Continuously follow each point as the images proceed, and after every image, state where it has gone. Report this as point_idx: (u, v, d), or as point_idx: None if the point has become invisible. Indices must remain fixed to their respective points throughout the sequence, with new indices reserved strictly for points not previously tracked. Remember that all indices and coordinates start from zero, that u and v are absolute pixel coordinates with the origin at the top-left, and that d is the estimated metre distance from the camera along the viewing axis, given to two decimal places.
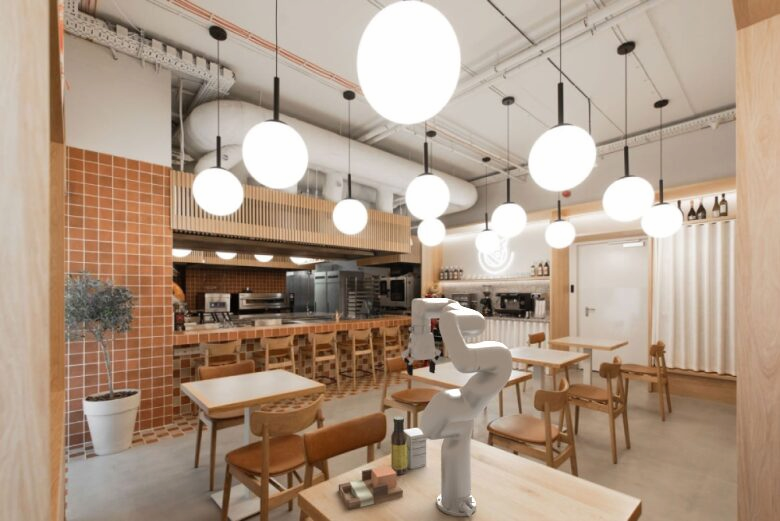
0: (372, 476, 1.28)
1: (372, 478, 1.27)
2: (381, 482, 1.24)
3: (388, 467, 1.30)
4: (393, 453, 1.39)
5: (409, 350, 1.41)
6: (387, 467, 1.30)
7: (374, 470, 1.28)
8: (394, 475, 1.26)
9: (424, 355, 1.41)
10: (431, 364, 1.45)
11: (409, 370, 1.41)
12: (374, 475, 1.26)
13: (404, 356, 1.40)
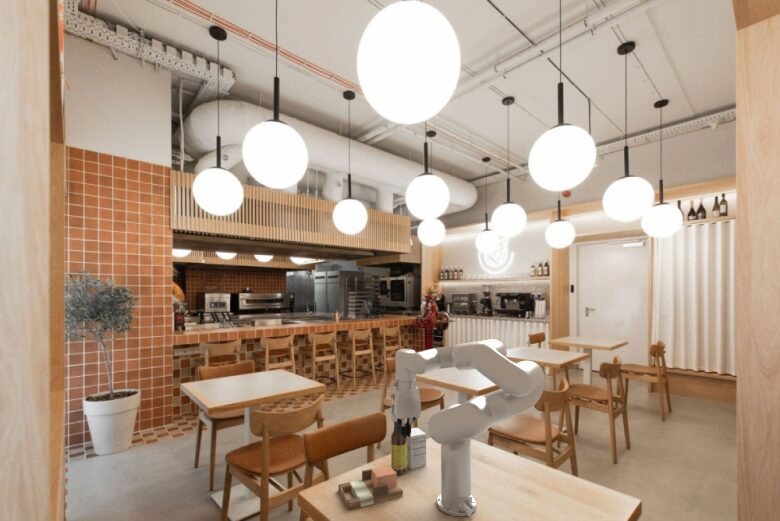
0: (372, 476, 1.28)
1: (372, 478, 1.27)
2: (381, 482, 1.24)
3: (388, 467, 1.30)
4: (393, 453, 1.39)
5: None
6: (387, 467, 1.30)
7: (374, 470, 1.28)
8: (394, 475, 1.26)
9: (409, 413, 1.30)
10: (407, 426, 1.32)
11: (403, 432, 1.30)
12: (374, 475, 1.26)
13: (396, 419, 1.30)
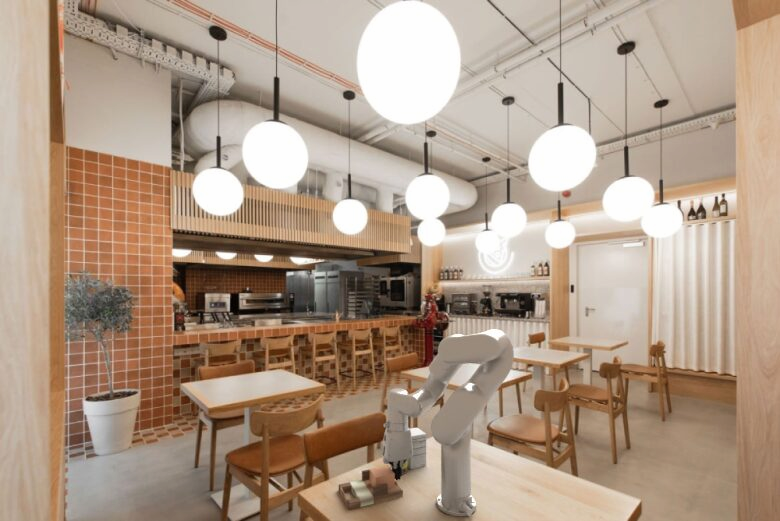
0: (370, 477, 1.28)
1: (370, 478, 1.27)
2: (379, 482, 1.23)
3: (386, 467, 1.30)
4: None
5: None
6: (385, 467, 1.30)
7: (372, 470, 1.28)
8: (392, 476, 1.25)
9: (400, 456, 1.28)
10: None
11: None
12: (372, 475, 1.26)
13: (387, 461, 1.28)
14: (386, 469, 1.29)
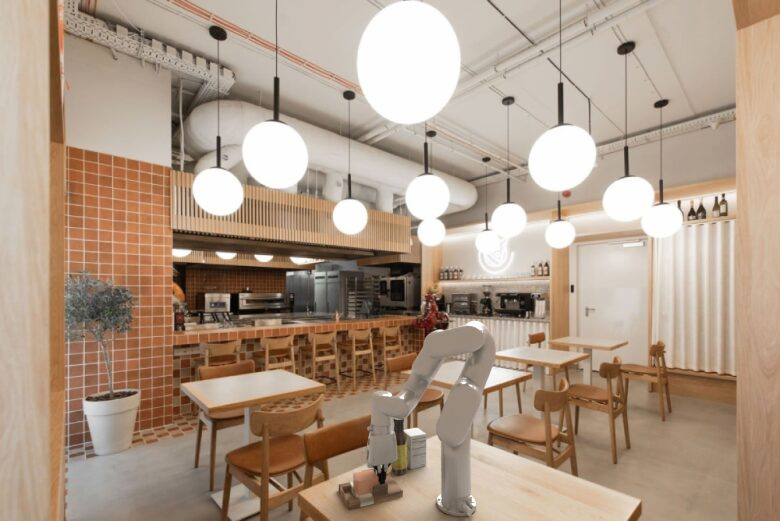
0: (353, 480, 1.25)
1: (354, 482, 1.25)
2: (362, 487, 1.21)
3: (370, 471, 1.27)
4: None
5: None
6: (369, 471, 1.27)
7: (356, 474, 1.25)
8: (376, 479, 1.23)
9: (384, 459, 1.25)
10: None
11: (379, 478, 1.26)
12: (355, 479, 1.23)
13: (371, 465, 1.25)
14: (370, 473, 1.26)
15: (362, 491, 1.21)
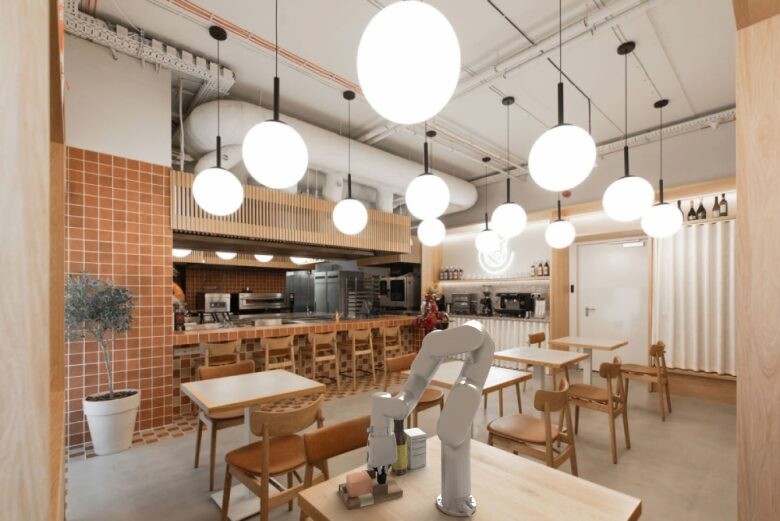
0: (347, 482, 1.24)
1: (347, 484, 1.24)
2: (355, 488, 1.20)
3: (364, 472, 1.26)
4: None
5: None
6: (363, 472, 1.26)
7: (349, 476, 1.24)
8: (369, 481, 1.22)
9: (384, 461, 1.25)
10: None
11: (379, 480, 1.26)
12: (348, 481, 1.22)
13: (371, 467, 1.25)
14: (363, 474, 1.25)
15: (355, 493, 1.20)
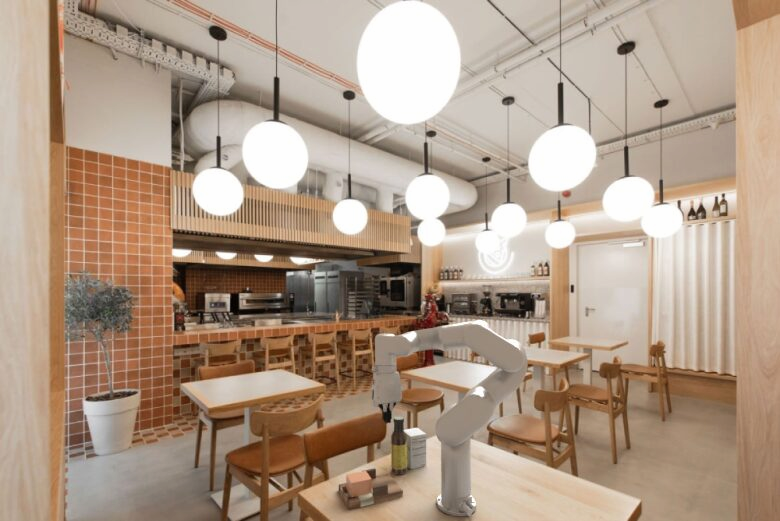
0: (347, 482, 1.24)
1: (347, 484, 1.24)
2: (355, 488, 1.20)
3: (364, 472, 1.26)
4: (393, 453, 1.39)
5: None
6: (363, 472, 1.26)
7: (349, 476, 1.24)
8: (369, 481, 1.22)
9: (389, 398, 1.27)
10: None
11: (384, 417, 1.28)
12: (348, 481, 1.22)
13: (377, 405, 1.27)
14: (363, 474, 1.25)
15: (355, 493, 1.20)
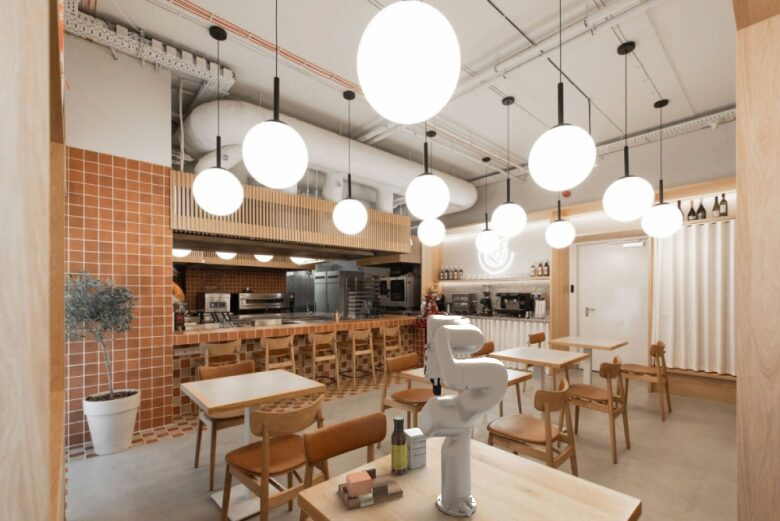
0: (347, 482, 1.24)
1: (347, 484, 1.24)
2: (355, 488, 1.20)
3: (364, 472, 1.26)
4: (393, 453, 1.39)
5: None
6: (363, 472, 1.26)
7: (349, 476, 1.24)
8: (369, 481, 1.22)
9: (440, 373, 1.39)
10: None
11: (435, 390, 1.40)
12: (348, 481, 1.22)
13: (429, 379, 1.39)
14: (363, 474, 1.25)
15: (355, 493, 1.20)
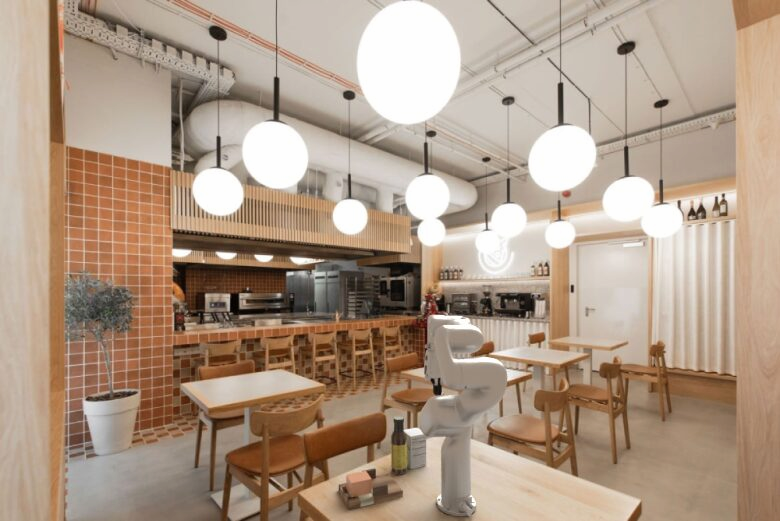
0: (347, 482, 1.24)
1: (347, 484, 1.24)
2: (355, 488, 1.20)
3: (364, 472, 1.26)
4: (393, 453, 1.39)
5: None
6: (363, 472, 1.26)
7: (349, 476, 1.24)
8: (369, 481, 1.22)
9: (441, 373, 1.39)
10: None
11: (435, 390, 1.40)
12: (348, 481, 1.22)
13: (429, 379, 1.40)
14: (363, 474, 1.25)
15: (355, 493, 1.20)
